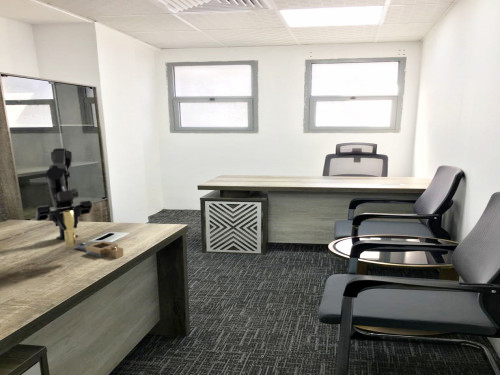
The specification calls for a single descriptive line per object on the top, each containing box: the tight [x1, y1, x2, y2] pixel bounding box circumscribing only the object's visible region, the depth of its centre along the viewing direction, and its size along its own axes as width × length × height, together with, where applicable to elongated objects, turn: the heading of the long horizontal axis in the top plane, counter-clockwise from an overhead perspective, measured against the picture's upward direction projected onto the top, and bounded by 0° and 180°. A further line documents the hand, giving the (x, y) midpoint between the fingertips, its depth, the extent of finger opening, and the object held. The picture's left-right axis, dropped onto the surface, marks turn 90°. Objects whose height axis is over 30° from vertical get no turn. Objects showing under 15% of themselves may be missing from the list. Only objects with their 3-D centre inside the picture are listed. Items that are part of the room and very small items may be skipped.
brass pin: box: [63, 210, 77, 248], centre depth 137 cm, size 4×4×13 cm
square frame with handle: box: [75, 240, 124, 259], centre depth 149 cm, size 24×8×3 cm, turn 60°
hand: (70, 228), depth 136 cm, fingers closed on brass pin, 4 cm apart
